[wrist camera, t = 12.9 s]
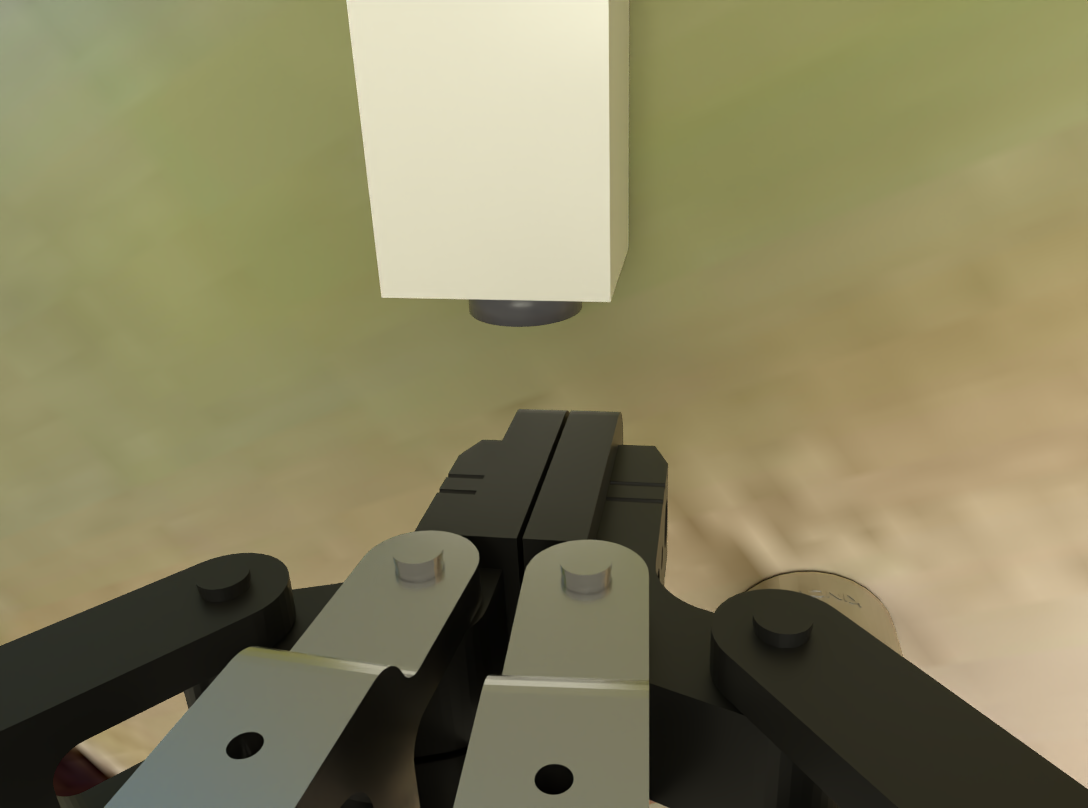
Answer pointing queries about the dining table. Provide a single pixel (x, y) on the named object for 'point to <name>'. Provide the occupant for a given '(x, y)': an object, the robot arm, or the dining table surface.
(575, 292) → the camera housing
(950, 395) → the dining table surface
